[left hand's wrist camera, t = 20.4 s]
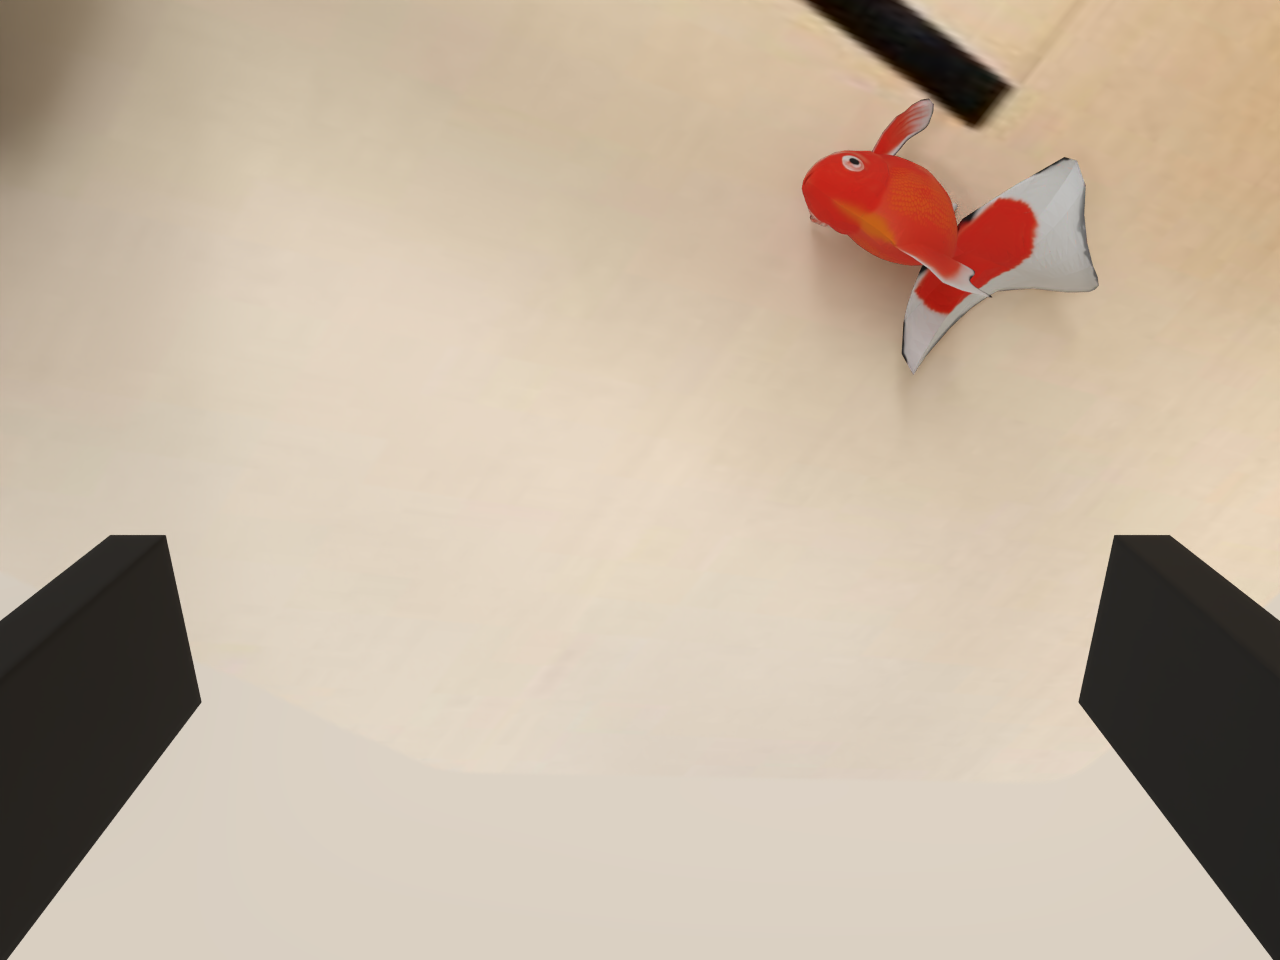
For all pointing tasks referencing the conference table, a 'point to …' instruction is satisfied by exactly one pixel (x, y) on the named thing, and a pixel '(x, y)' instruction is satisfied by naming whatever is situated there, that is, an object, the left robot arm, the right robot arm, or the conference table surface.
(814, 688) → the conference table surface
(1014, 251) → the fish
